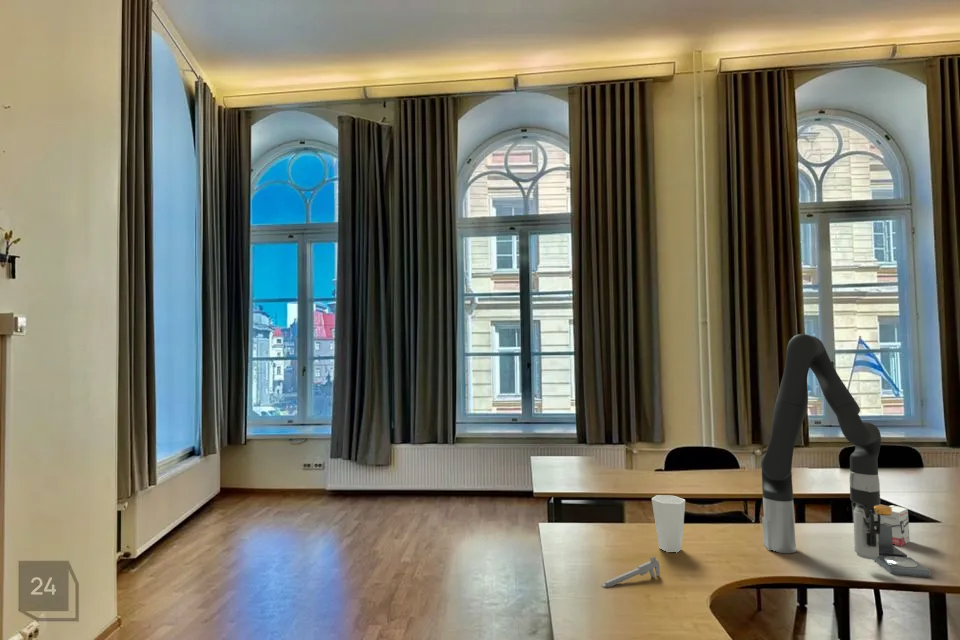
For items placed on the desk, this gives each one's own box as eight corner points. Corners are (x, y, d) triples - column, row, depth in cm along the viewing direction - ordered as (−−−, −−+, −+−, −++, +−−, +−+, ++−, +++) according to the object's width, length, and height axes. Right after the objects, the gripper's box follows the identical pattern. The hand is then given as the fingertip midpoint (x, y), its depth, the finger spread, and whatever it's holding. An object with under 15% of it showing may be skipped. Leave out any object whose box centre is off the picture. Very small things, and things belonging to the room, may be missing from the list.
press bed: (890, 573, 155) (890, 566, 155) (874, 561, 165) (874, 554, 165) (929, 577, 153) (929, 569, 153) (910, 563, 162) (910, 556, 163)
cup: (693, 552, 174) (691, 501, 175) (670, 557, 170) (668, 505, 171) (670, 541, 184) (668, 493, 185) (647, 546, 180) (645, 496, 181)
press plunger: (873, 536, 168) (871, 508, 169) (863, 529, 175) (861, 502, 176) (898, 538, 167) (896, 510, 167) (886, 531, 173) (885, 504, 174)
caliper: (657, 575, 156) (656, 554, 157) (660, 577, 155) (659, 556, 156) (601, 587, 149) (600, 565, 150) (603, 588, 148) (602, 566, 149)
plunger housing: (871, 558, 167) (869, 527, 168) (857, 547, 177) (855, 518, 177) (907, 561, 164) (905, 529, 165) (891, 549, 174) (889, 520, 175)
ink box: (901, 546, 177) (899, 512, 178) (884, 542, 181) (881, 508, 182) (910, 541, 182) (908, 508, 182) (893, 537, 186) (891, 504, 186)
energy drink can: (871, 553, 160) (869, 504, 161) (883, 560, 155) (882, 510, 155) (850, 551, 161) (848, 503, 162) (862, 559, 155) (860, 509, 156)
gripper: (841, 480, 167) (843, 532, 166) (860, 492, 153) (863, 549, 152) (867, 482, 165) (869, 535, 164) (890, 494, 151) (892, 552, 150)
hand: (866, 541), depth 158 cm, fingers closed on energy drink can, 6 cm apart
